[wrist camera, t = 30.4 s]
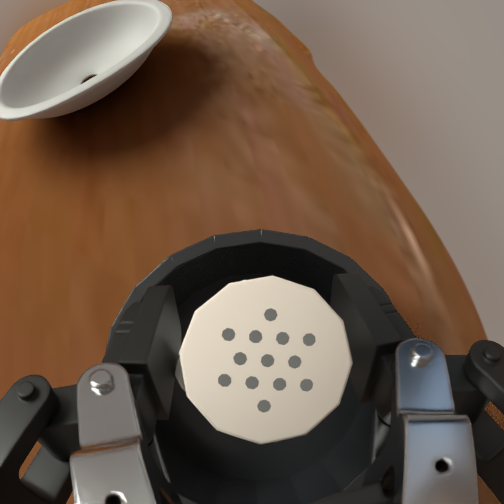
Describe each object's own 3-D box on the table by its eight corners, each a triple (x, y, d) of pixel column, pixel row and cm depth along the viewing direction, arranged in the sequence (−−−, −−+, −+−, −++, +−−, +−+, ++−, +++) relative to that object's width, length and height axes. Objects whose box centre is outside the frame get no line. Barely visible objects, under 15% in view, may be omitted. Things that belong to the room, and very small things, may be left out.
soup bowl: (146, 18, 37) (139, -14, 31) (214, 84, 30) (209, 35, 24) (14, 90, 32) (-4, 62, 26) (20, 194, 26) (-15, 160, 19)
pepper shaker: (197, 372, 14) (118, 380, 5) (244, 305, 15) (239, 217, 6) (266, 418, 13) (295, 497, 4) (313, 350, 14) (406, 324, 6)
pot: (347, 252, 24) (377, 214, 18) (382, 457, 18) (423, 482, 12) (133, 281, 23) (96, 252, 17) (161, 491, 17) (133, 528, 11)
